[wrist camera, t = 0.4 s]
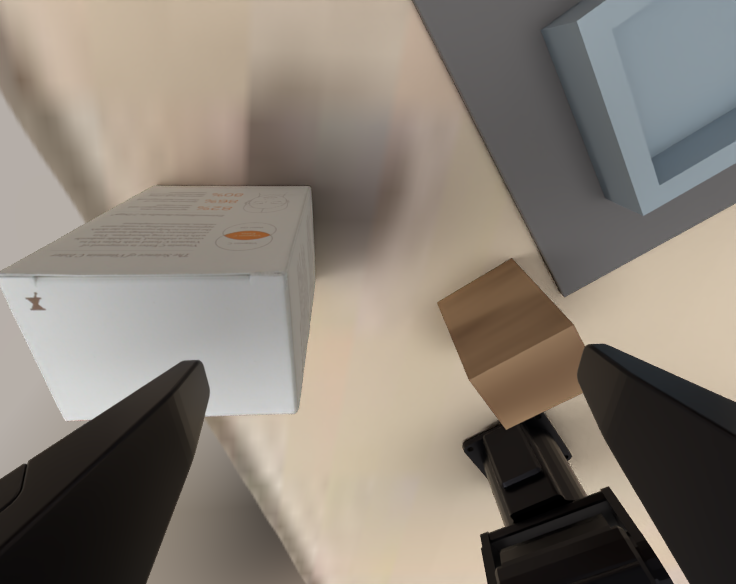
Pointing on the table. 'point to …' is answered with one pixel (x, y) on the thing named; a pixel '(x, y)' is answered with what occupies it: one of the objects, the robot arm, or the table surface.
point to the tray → (650, 92)
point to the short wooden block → (513, 343)
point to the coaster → (550, 140)
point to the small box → (174, 298)
